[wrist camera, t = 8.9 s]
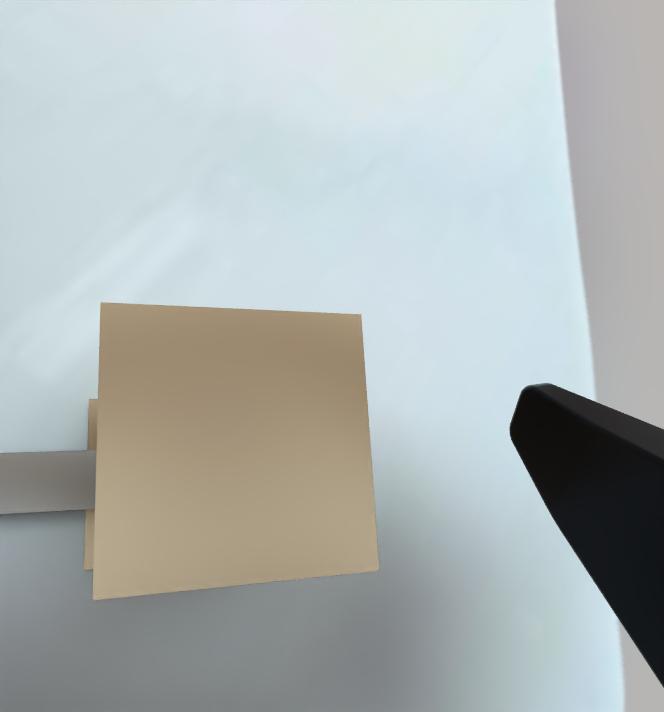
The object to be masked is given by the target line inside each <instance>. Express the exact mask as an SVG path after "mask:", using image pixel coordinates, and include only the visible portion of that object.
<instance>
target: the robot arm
mask: <svg viewBox="0 0 664 712" xmlns="http://www.w3.org/2000/svg"><path fill="white" fill-rule="evenodd" d="M510 437H511V440H512V442H513V444H514V446H515V448H516V450H517V452H518V454H519V455H520V457H521V459H522V461H523V463H524V465H525V467H526V469H527V471H528V473H529V474H530V476H531V478H532V480H533V482H534V484H535V486H536V488H537V490H538V492H539V493H540V495H541V497H542V499H543V501H544V503H545V505H546V507H547V508H548V510H549V512H550V514H551V516H552V517H553V519H554V521H555V522H556V524H557V525H558V527H559V529H560V530H561V532H562V533H563V535H564V536H565V538H566V540H567V541H568V543H569V544H570V546H571V547H572V549H573V550H574V552H575V553H576V555H577V556H578V558H579V559H580V561H581V562H582V564H583V565H584V567H585V568H586V570H587V572H588V573H589V575H590V576H591V578H592V579H593V581H594V582H595V584H596V585H597V587H598V588H599V590H600V591H601V593H602V594H603V596H604V597H605V599H606V601H607V602H608V604H609V605H610V607H611V608H612V610H613V611H614V613H615V614H616V616H617V617H618V619H619V620H620V622H621V623H622V625H623V626H624V628H625V629H626V631H627V633H628V634H629V635H630V637H631V639H632V640H633V642H634V643H635V645H636V646H637V648H638V649H639V651H640V652H641V654H642V655H643V657H644V658H645V660H646V662H647V663H648V665H649V666H650V668H651V669H652V671H653V672H654V674H655V675H656V677H657V678H658V680H659V681H660V683H661V684H662V686H663V687H664V429H661V428H659V427H656V426H654V425H651V424H649V423H646V422H644V421H641V420H639V419H637V418H634V417H632V416H629V415H627V414H624V413H622V412H619V411H617V410H614V409H612V408H609V407H607V406H604V405H602V404H600V403H597V402H595V401H592V400H590V399H587V398H585V397H582V396H580V395H577V394H575V393H572V392H570V391H568V390H565V389H563V388H560V387H558V386H555V385H553V384H549V383H542V384H535V385H529V386H527V387H525V388H524V389H523V390H522V391H521V394H520V396H519V399H518V402H517V405H516V408H515V411H514V414H513V417H512V420H511V423H510Z"/></svg>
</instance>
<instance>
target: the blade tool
mask: <svg viewBox="0 0 664 712" xmlns="http://www.w3.org/2000/svg"><path fill="white" fill-rule="evenodd" d="M71 510H86V515H85V548H84V570H89V569H93V600H102V599H112V598H121V597H131V596H141V595H151V594H160V593H170V592H180V591H189V590H199V589H209V588H218V587H228V586H238V585H247V584H257V583H267V582H277V581H286V580H296V579H306V578H315V577H325V576H335V575H344V574H354V573H364V572H374V571H379V559H378V545H377V531H376V517H375V503H374V489H373V475H372V461H371V447H370V432H369V418H368V404H367V390H366V376H365V362H364V348H363V334H362V320H361V315H360V314H339V313H317V312H296V311H274V310H252V309H231V308H209V307H188V306H166V305H144V304H123V303H101V311H100V347H99V384H98V399H89V418H88V450H87V451H56V452H20V453H0V515H2V514H19V513H36V512H54V511H71Z"/></svg>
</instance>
